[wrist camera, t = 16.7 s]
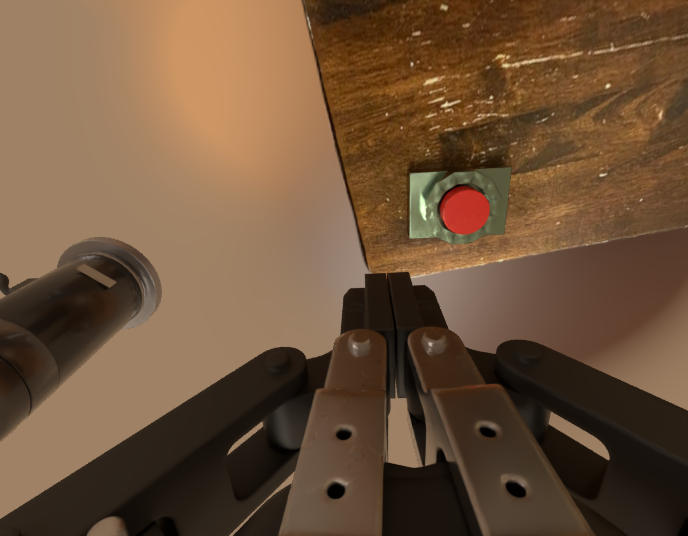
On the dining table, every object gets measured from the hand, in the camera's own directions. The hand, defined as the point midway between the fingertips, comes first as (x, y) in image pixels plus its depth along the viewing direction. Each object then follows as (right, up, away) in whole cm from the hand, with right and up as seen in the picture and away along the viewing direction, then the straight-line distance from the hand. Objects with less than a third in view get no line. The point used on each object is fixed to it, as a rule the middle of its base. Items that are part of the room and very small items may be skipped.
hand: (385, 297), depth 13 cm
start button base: (+10, +8, +27) cm, 31 cm away
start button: (+10, +7, +24) cm, 27 cm away
